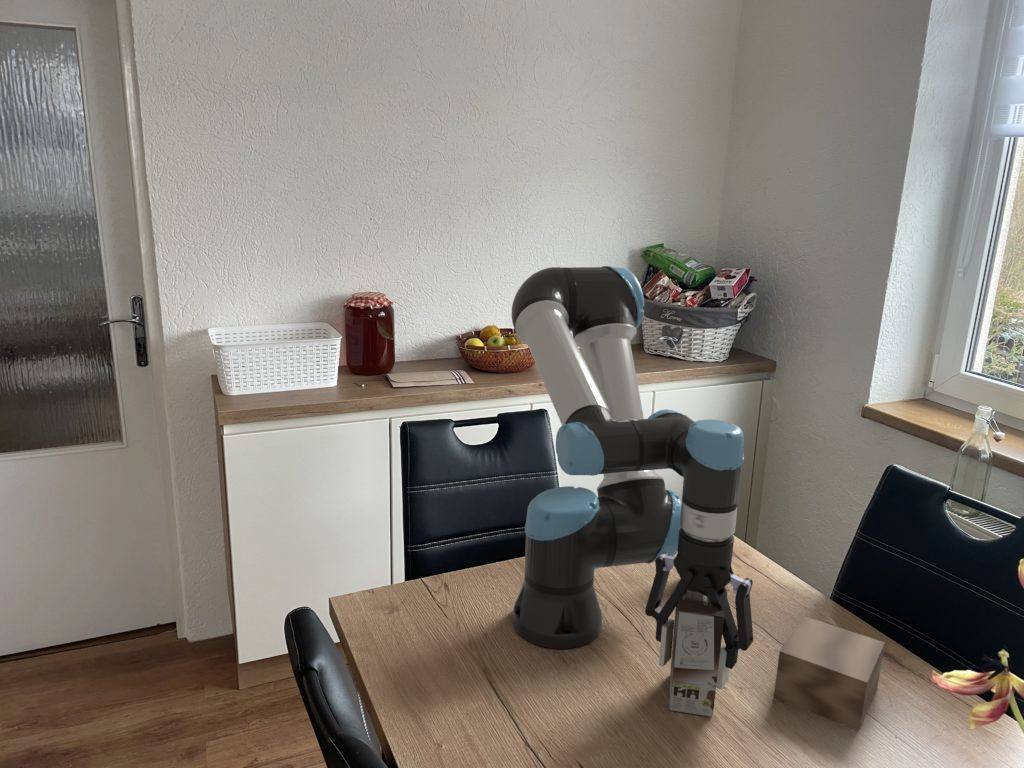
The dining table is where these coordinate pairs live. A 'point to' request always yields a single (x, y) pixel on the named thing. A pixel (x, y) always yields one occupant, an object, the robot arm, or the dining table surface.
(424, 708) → the dining table surface
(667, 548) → the robot arm
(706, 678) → the coffee box
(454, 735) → the dining table surface
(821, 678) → the walnut block
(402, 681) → the dining table surface
